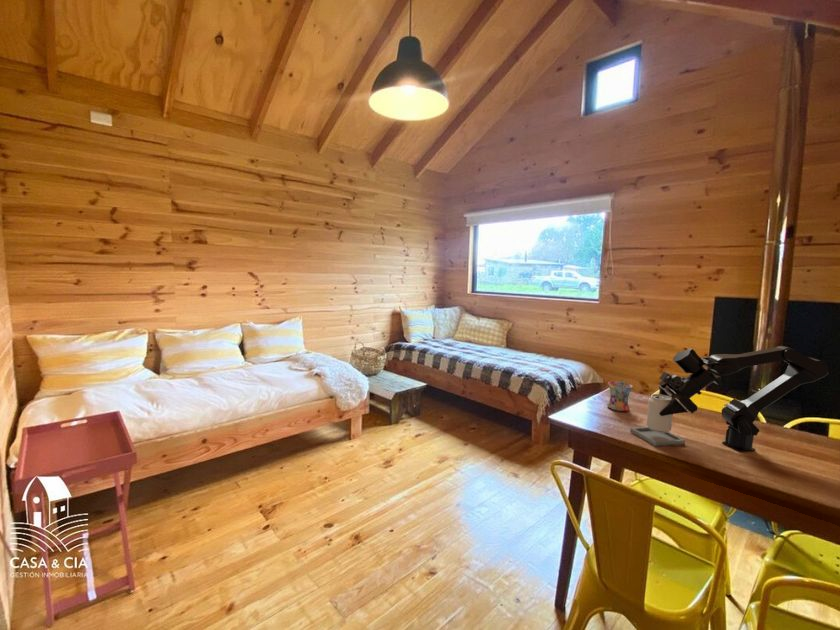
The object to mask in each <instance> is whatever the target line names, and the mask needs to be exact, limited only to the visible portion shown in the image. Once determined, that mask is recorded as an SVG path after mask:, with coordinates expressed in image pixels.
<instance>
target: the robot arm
mask: <svg viewBox="0 0 840 630" xmlns="http://www.w3.org/2000/svg"><path fill="white" fill-rule="evenodd" d="M672 357H673V358H672V360H673V362H675V364H676V365H677V366H678V367H679V368H680V369H681V371H683V372H684V373H686V374H688V375H687V376H686V377H685V376H679V375H677V374H671V373H669V372H667V371H663V372H662V373H661V375H660V377H659V380H661V381H659V382H658V385H659V386H658V389H659V392H658V394H661V395H666V396H669V397H671V403H670V404H668V405H667V406H666V407H665V408H664V409H663V410H662V411H661V412H660V413H659V414H660V415H661V416H665V415H671V414H673V415H675V414H683V413H687V414H688V413H691V414H694V413H695V412H697V411H698V405H697V404H696V403H695V402H694V401H693V400H692V399H691V398H693V397H694V396H695V395H701V394H702V390H704V389H705V388H706V387H708V386H710V385H711V384H712V383H714V384H716V385H718V386H721V385H722V381H721V380H722V376H729V375H732V374H735V373H738V372H739V371H741V370H743V369H745V368H749V367H753V366H760V365H765V364H766V365H767V364H771V363H777V362H783V361H784V362H786V363H787V364H788V365H787V367H786V370H785V371H784V373H783V374H782V375H780V376H779V377H778V378H775V380H773V381H771V382H770V383H768V384H767V385H765V386H764V387H763V388H761V389H760V390H758V391H756V392H755V393H753V394H752V395H751V396H749V397H748V398H746V399H744V400H739V399H737V398H733V399H732V400H731V401H729V402H727V403H725V404H723V406H724V407H722V409H721V414H720V415H721V417H722V419H723V420H724V421H725V424H726V425H728V426H727V429H726V432H725V439H724V440H725V441H722V442H721V444H723V445H725V446H727V447H729V448H732V449H733V450H736V451H737V452H754V451H756V448H754V447H753V443H754V437H755V436H757V435H758V434H759V433H760V429H759V428H758V427H757V426H756V425H755V424H754V422H756V420H757V417H758V416H759V413H760V412H761V411H763V410H764V409H765V408H767V407H769V406H770V405H771V404H773V403H775V402H776V401H778V400H780V399H781V398H783V397H784V396H786V395H787V394H788V393H790V392H791V391H793V390H795V389H796V388H797V387H799V386H801V385H804V384H808V383H814V382H816V381H819V380H820V379H822V378H823V379H824V378H825V377H826V376H827V375H828V374H829V366H828V364H827V363H826V362H825V361H824V360H823V361H822V360H820V359H816V358H813V357H810V356H809V357H808V356H806V355H804V354H802V353H801V352H799V351H797V350H795V349H794V348H792V347H791V348H790V347H788V346H784V345H779V346H776V347H770V348H765V349H760V350H755V351H749V352H743V353H738V354H736V353H735V354H733V353H732V354H731V353H729V354H728V353H715V354H711V355H710V356H707V357H700V356H699V355H698V354H697V352H696V350H694V349H693V348H691V347H689V348H688V349H685V350H682V351H680V352H677V353H676V354H675V355H674V356H672ZM706 368H708V369H706ZM714 372H715V373H717V374H718V375H716V374H715V373H714ZM719 375H721V376H719Z"/></svg>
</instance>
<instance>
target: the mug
mask: <svg viewBox="0 0 840 630" xmlns="http://www.w3.org/2000/svg"><path fill="white" fill-rule="evenodd" d="M607 384H608V387H609V393H610V394H609V395H610V396H609V400H608V402H607V404H606V405H607V407H608V408H610V409H612V410H614V411H617V412H627V411H629V410H630V406H629V396H630V393H631V391H632V389H633V387H634V386H633V385H632V384H630V383H627V382H624V381H616V380H613V381H612V380H611V381H608V382H607Z"/></svg>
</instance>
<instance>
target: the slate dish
mask: <svg viewBox="0 0 840 630" xmlns="http://www.w3.org/2000/svg"><path fill="white" fill-rule="evenodd" d="M630 433H631V434H633V435H635V436H637V437H638V438H640V439H642V440H644V441H645V442H646V443H649V444H650V445H651V446H654V447H655V448H657V447H669V446H683V445H685V443H686V439H684V438H682V437H679V436H678V435H676V434H674V433H673V432H671V431H669V432H667V433H659V432H655V431H652V430H650V429H649V427H648V426H641V427H630Z"/></svg>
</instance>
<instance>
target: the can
mask: <svg viewBox="0 0 840 630" xmlns="http://www.w3.org/2000/svg"><path fill="white" fill-rule="evenodd" d="M650 396H651V397H649V398H648V405H647V414H646V424H645V425H646V427H649V429H650V430H652V431H655V432H659V433H667V432H671V430H672V427H673V416H674V414H671V415H665V416H661V415H660V414H659V413H660V412H661V411H662V410H663V409H664V408H665V407H666V406H667V405H668V404H670V403H671V398H672V397H669V396H666V395H661V394H659V393H652V394H651V395H650Z"/></svg>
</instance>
